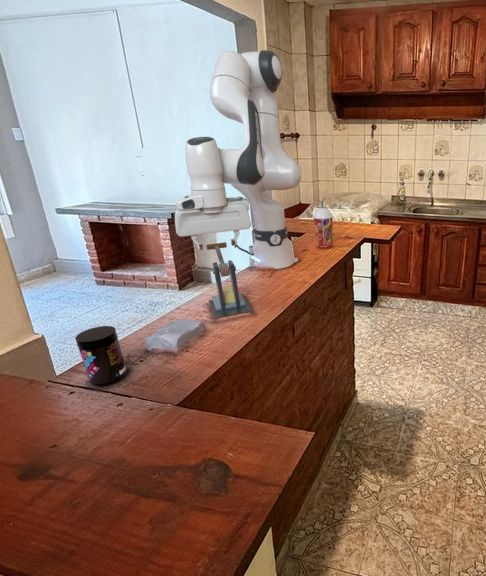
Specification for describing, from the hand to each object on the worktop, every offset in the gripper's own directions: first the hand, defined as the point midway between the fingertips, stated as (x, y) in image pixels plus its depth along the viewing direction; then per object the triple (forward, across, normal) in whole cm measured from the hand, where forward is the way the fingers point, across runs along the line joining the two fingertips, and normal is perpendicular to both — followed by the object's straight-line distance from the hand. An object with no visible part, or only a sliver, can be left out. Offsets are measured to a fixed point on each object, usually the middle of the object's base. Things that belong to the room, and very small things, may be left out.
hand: (217, 247), depth 116 cm
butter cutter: (+16, 0, +9) cm, 19 cm away
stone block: (+16, +15, +22) cm, 31 cm away
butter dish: (+15, 0, +6) cm, 16 cm away
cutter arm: (+3, 0, +4) cm, 5 cm away
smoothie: (+17, -48, -41) cm, 65 cm away
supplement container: (+16, +28, +33) cm, 46 cm away
